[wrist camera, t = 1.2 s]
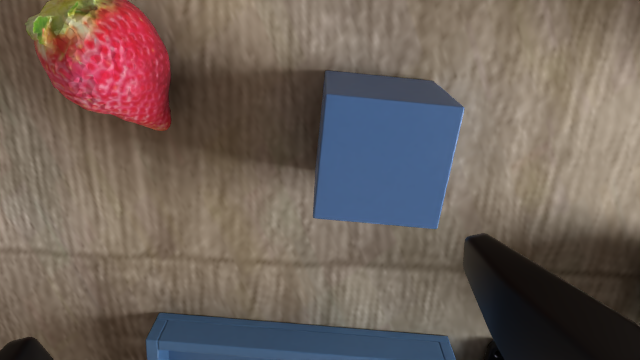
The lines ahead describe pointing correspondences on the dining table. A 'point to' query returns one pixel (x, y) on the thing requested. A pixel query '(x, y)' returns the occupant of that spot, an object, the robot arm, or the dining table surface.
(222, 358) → the blue tray
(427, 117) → the blue block
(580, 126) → the dining table surface
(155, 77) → the fruit
